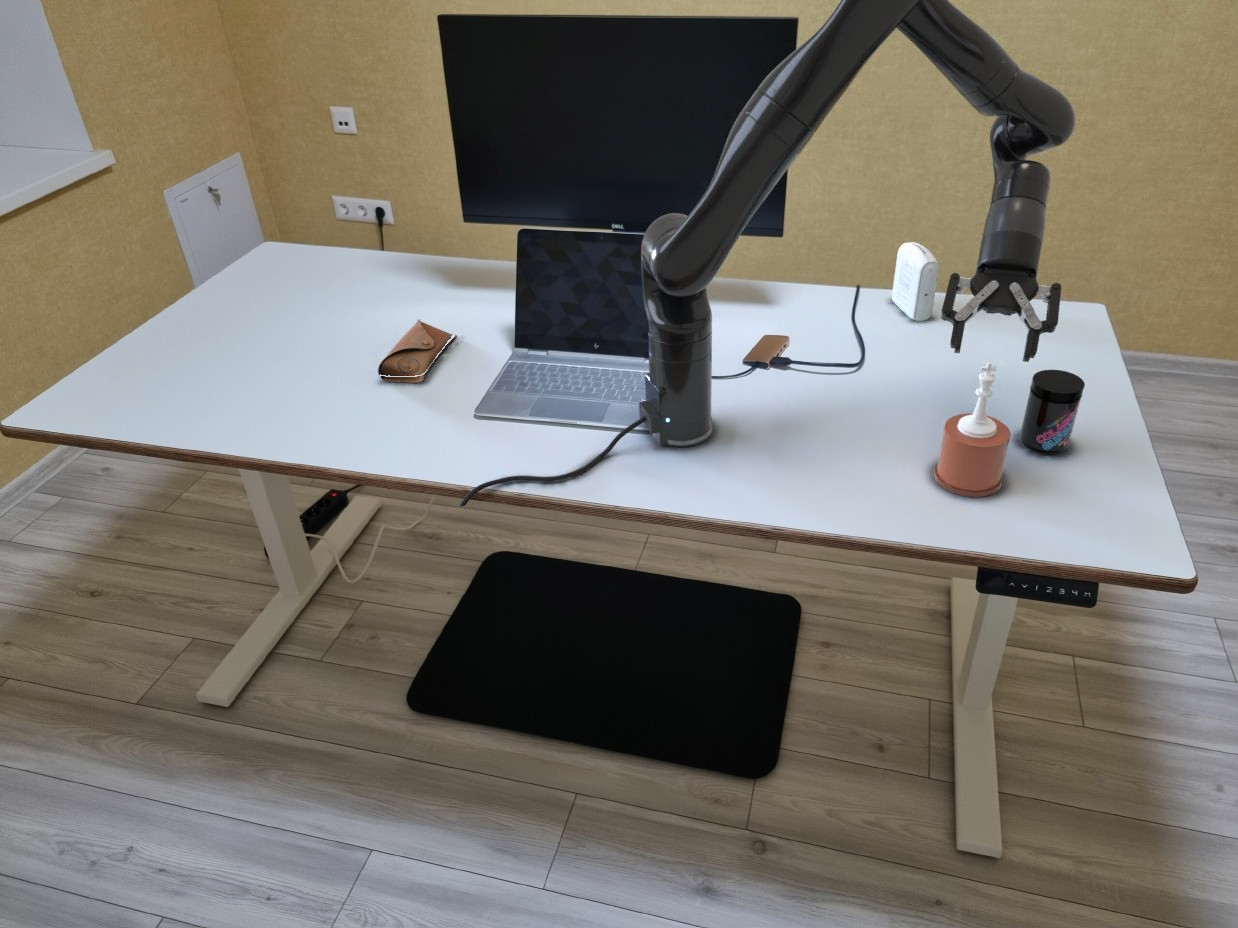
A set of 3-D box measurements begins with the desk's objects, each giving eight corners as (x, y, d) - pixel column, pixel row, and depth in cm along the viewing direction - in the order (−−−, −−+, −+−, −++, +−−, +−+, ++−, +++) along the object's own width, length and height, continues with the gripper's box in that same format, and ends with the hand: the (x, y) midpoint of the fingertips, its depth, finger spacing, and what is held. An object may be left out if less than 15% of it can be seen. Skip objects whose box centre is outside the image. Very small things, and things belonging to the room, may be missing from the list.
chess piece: (998, 439, 122) (1013, 373, 116) (959, 437, 123) (971, 371, 117) (993, 420, 126) (1007, 354, 120) (955, 417, 127) (967, 353, 121)
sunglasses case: (425, 381, 158) (400, 350, 156) (396, 397, 162) (371, 368, 159) (459, 334, 173) (437, 305, 170) (432, 350, 176) (410, 322, 173)
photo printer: (934, 319, 169) (944, 255, 162) (912, 323, 168) (921, 258, 161) (909, 297, 177) (917, 235, 170) (888, 300, 177) (895, 238, 170)
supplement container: (1021, 455, 133) (1036, 392, 127) (1014, 429, 138) (1028, 368, 132) (1072, 458, 131) (1089, 394, 125) (1063, 432, 137) (1079, 370, 131)
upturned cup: (959, 503, 124) (969, 454, 120) (920, 468, 131) (928, 420, 127) (1016, 488, 126) (1027, 439, 122) (974, 454, 133) (984, 406, 129)
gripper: (957, 223, 122) (935, 340, 120) (1074, 233, 118) (1054, 354, 115) (954, 247, 129) (934, 357, 127) (1065, 257, 125) (1046, 371, 122)
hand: (991, 355), depth 121 cm, fingers open, 8 cm apart
